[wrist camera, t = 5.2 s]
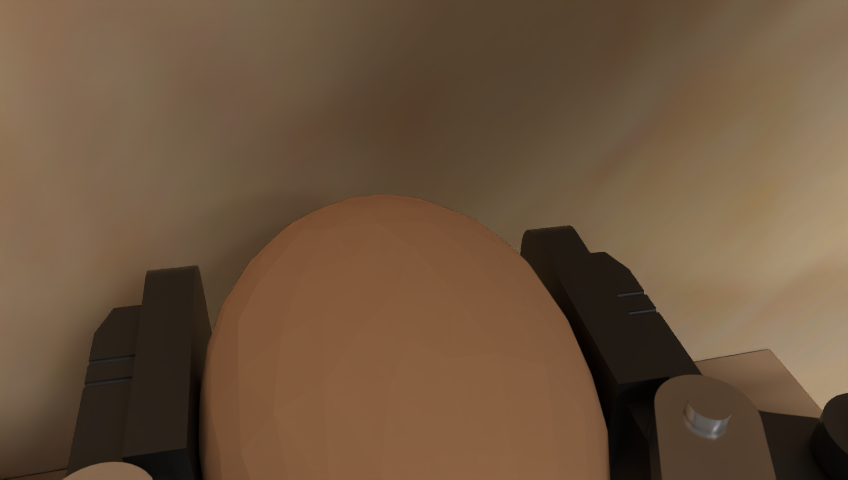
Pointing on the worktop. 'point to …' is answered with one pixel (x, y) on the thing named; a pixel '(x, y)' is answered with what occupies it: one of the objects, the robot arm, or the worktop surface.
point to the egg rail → (745, 372)
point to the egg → (395, 357)
